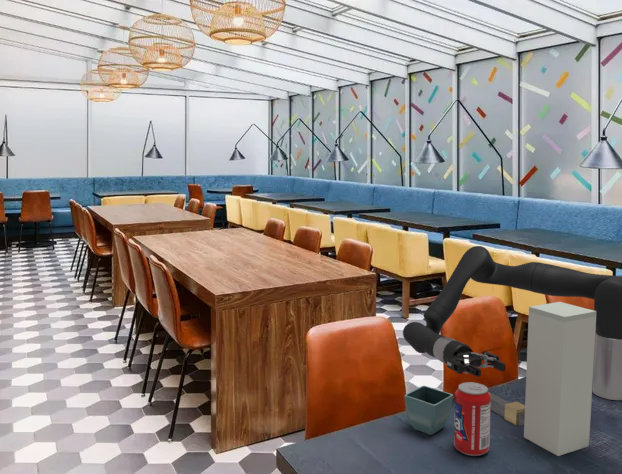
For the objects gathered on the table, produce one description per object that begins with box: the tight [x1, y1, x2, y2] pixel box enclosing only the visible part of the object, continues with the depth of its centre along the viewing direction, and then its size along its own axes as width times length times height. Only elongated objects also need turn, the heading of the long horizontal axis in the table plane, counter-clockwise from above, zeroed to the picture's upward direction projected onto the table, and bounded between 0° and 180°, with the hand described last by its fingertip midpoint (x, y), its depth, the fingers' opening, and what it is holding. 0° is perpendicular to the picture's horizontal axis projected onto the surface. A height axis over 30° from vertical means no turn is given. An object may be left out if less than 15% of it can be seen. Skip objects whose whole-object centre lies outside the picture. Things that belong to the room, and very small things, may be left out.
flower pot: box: [404, 385, 454, 436], centre depth 143 cm, size 9×9×9 cm
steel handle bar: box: [488, 391, 525, 427], centre depth 154 cm, size 4×19×4 cm, turn 24°
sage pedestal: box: [523, 301, 596, 457], centre depth 134 cm, size 10×10×32 cm
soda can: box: [453, 381, 492, 457], centre depth 132 cm, size 8×8×15 cm
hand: (492, 370), depth 154 cm, fingers open, 8 cm apart
